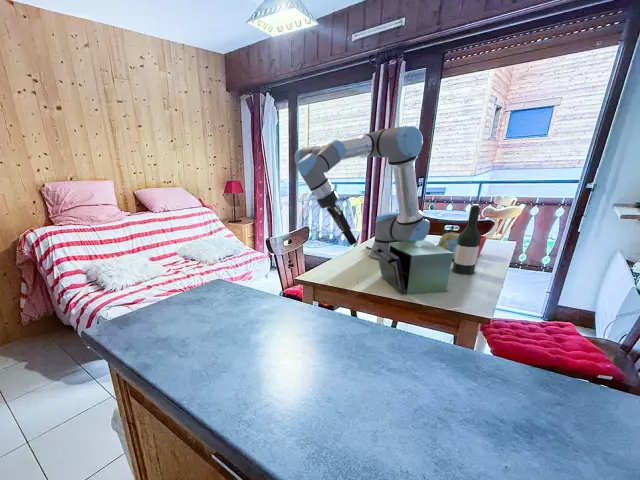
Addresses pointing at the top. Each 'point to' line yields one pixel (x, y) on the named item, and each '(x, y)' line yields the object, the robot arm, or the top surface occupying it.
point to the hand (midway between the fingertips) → (353, 243)
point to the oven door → (390, 268)
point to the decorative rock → (449, 242)
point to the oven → (423, 265)
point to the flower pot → (481, 244)
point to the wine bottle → (468, 244)
